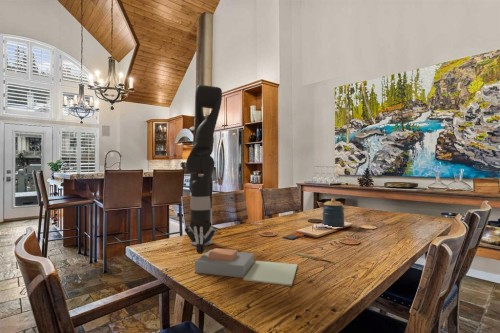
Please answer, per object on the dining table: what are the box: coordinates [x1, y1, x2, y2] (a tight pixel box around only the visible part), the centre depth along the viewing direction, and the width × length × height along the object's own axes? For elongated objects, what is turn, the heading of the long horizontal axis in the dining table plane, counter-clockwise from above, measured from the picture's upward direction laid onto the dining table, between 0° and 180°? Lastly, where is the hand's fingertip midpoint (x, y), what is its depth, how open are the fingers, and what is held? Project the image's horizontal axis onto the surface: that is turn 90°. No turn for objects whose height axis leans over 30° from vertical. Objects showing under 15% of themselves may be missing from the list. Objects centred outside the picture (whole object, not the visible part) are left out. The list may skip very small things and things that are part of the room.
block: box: [209, 247, 238, 261], centre depth 104 cm, size 9×6×2 cm, turn 75°
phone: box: [282, 231, 305, 241], centre depth 149 cm, size 6×1×15 cm
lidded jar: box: [321, 197, 345, 228], centre depth 170 cm, size 13×13×18 cm
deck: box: [194, 249, 255, 279], centre depth 104 cm, size 18×14×4 cm
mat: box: [242, 260, 298, 287], centre depth 99 cm, size 16×18×1 cm
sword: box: [284, 250, 334, 264], centre depth 117 cm, size 25×4×1 cm, turn 46°
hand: (200, 253), depth 106 cm, fingers closed
